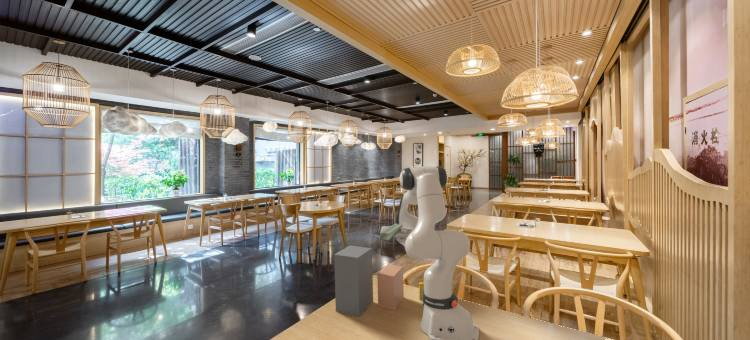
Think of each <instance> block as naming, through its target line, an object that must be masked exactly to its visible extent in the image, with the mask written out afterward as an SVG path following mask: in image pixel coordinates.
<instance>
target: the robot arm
mask: <svg viewBox="0 0 750 340" xmlns="http://www.w3.org/2000/svg"><path fill="white" fill-rule="evenodd" d="M447 182H448V174H447V171H446V169H445V168H444V167H443V166H438V165H436V166H422V165H421V166H413V167H405V168H402V169H401V171H400V175H399V184H400V185H401V188H402V189H404V190H405V191H404V192H403V193H402V195H401V198H400V201H399V206H398V210H397V213H396V216H395V219H394V223H395V224H402V226H403V227H400V229H399V230H400V231H401V232H399V233H398V234H396V235H395V236H394V237H393V238H395V239H396V241H397V242H399V244H400V245H402V246H403V247H404V250H405V252H406V254H407V256H408V257H409V258H410V259H411V260H418V261H433V260H436V261H435V262H434V263H433V264H431V266H429V267H428V268H426V269H425V271H424V272H423V282H424V291H423V300H422V305H423V312H422V317H421V318H422V319H421V322H420V329H421V331H423V333H425V334H426V335H427V336H428V338H429V340H479V339H480V329H479V326H478V325H477V324H476V323H475V322H473V317H472V315H471V313H470V312H469V311H468V310H467V309H465V308H464V307H463V306H462V305H460V304H459V302H458V294H454V292H453V293H452V282H453V279H454V273H455V270H456V269H457V266H458V264H459V263H460V261H462V259H463V258H465V257H466V256H467V255H468V254H469V251H470V249H471V248H470V247H471V243H470V239H469V237H468V235H467V234H466V233H465V232H464V231H460V230H453V229H449V230H435V226H436V224H438V223H439V222H441V221H443V219H445V217H446V215H447V210H446V209H447V208H446V205H445V203H446V202H445V198H444V197H445V196H444V192H443V189H444V188H445V187H446V185H447ZM409 205H412V206H417V208H418V211H417V212H418V216H417V215H414V214H412V213H411V212H409V211H408V209H409ZM389 227H390V226H388V225H386V226H385V225H382V227H381V229H380V232H382V231H384V230H385V229H387V228H389Z"/></svg>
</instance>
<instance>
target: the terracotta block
mask: <svg viewBox="0 0 750 340" xmlns="http://www.w3.org/2000/svg"><path fill="white" fill-rule="evenodd" d="M376 275H377V277H376V278H377V306H378V307H379V308H382V309H388V310H391V311H395V310H396V309H397V307H398V306H399V305H400V303H401V302H402V301H403V299H404V296H405V295H404V293H405V291H404V266H401V265H396V264H395V265H394V264H391V263H390V264H389V263H387V264H386V265H385V266H384V267H383V268H382V269H381V270H380V271H379V272H378V273H376Z"/></svg>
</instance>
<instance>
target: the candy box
mask: <svg viewBox="0 0 750 340" xmlns="http://www.w3.org/2000/svg"><path fill="white" fill-rule="evenodd" d="M418 289H419V290H418V291H419V292H418V299H419V300H420V301H423V291H424V281H420V282H418ZM452 293H453V294H454V283H453V281H452Z"/></svg>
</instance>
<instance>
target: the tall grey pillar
mask: <svg viewBox="0 0 750 340" xmlns="http://www.w3.org/2000/svg"><path fill="white" fill-rule="evenodd" d="M333 256H334V257H333V260H334V261H333V262H334V263H333V265H334V286H335V287H334V295H335V312H337V313H341V314H346V315H349V316H353V317H357V318H359V317H361V316H362V315H363V314H364V313H365V312H366V310H367V309H368V308H369V307H370V306H372V304H373V303H374V284H373V282H374V279H373V277H374V275H373V248H372V247H364V246H357V245H348V246H347V247H344V248H343V249H341V250H340V251H338V252H335V253H334V254H333Z"/></svg>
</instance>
